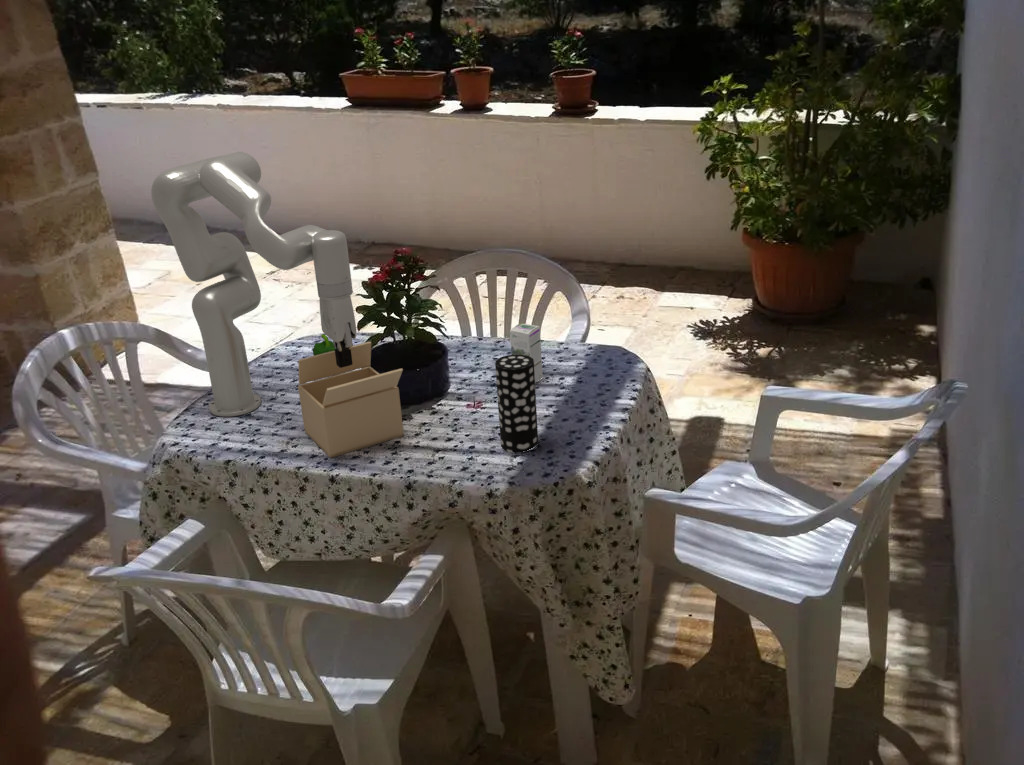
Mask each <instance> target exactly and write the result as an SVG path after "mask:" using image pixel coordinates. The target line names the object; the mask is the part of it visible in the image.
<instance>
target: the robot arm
mask: <svg viewBox="0 0 1024 765" xmlns="http://www.w3.org/2000/svg"><path fill="white" fill-rule="evenodd" d="M261 178H262V170H261V167H260V164H259V162H258V161H257V159H256V158H254V156H252V155H251V154H250V153H247V152H243V151H235V152H231V153H228V154H223V155H219V156H214V157H209V158H205V159H201V160H197V161H195V162H194V161H193V162H190V163H186V164H181V165H179V166H175V167H172V168H170V169H167V170H165V171H163V172H162V173H159V174H158V175H157V176H156V177H155V178H154V180H153V182H152V185H151V191H150V192H151V193H150V194H151V201H152V203H153V204H152V205H153V207H154V209H155V211H156V212H157V214H158V216H159V218H160V219H161V221H162V223H163V224H164V226H165V228H166V230H167V231H168V234H169V236H170V237H169V238H171V239H170V240H171V242H172V245H173V247H174V249H175V252H176V254H177V257H178V260H179V262H180V264H181V267H182V269H183V271H184V274H185V275H186V277H188V279H189V280H191V281H192V282H196V283H201V282H206V281H209V280H212V279H214V278H217V277H219V276H222V275H223V278H224V279H222V280H221V281H217V282H214V283H212V284H210V285H208V286H205V287H204V288H201V289H200V290H199V291H197V293H195V294H194V296H193V298H192V300H191V310H192V313H193V316H194V319H195V321H196V323H197V326H198V328H199V331H200V335H201V339H202V344H203V348H204V355H205V358H206V364H207V369H208V374H209V381H210V384H211V385H210V386H211V391H212V395H213V400H212V401H211V402H209V404H208V409H209V410H208V411H209V412H210V414H212V415H214V416H217V417H222V418H223V417H225V418H227V417H237V416H241V415H245V414H248V413H250V412H253V411H255V410H256V409H258V408H259V407H260V406H261V403H262V399H261V396H260V395H259V394H258V393H254V389H253V383H252V379H251V378H252V377H251V373H250V366H249V361H248V356H247V350H246V344H245V339H244V337H243V336H244V335H243V333H242V332H241V330H240V329H239V328H238V327H237V326H236V325H235V324H234V320H235V319H238V318H239V317H241V316H244V315H246V314H247V313H250V312H252V311H254V310H255V309H257V308H258V307H259V306H260V303H261V300H262V299H261V298H262V294H261V289H260V285H259V283H258V280H257V277H256V275H255V271H254V269H253V267H252V264H251V262H250V258H249V256H248V254H247V252H246V251H247V250H246V249H245V246H244V244H243V242H242V241H241V240H240V239H239V238H238V237H237V236H235V235H234V234H232V233H230V232H225V231H222V232H218V233H214V234H212V235H211V234H210V233H209V230H208V228H207V225H206V221H205V220H204V218H203V217H202V216H201V215H200V213H199V212H198V211H196V210H195V208H193V207H192V206H190V205H189V204H191V203H194V202H197V201H200V200H201V201H202V200H204V199H206V198H210V197H213V198H214V199H215V200H216V201H218V202H219V203H220V204H221V205H223V206H224V207H225V208H226V209H228V210H229V212H231V213H233V214H234V215H235V216H236V217H237V218H239V219H240V220H241V221H242V222H243V223H242V224H243V229H244V230H243V231H244V234H245V236H246V237H245V238H247V242H249V245H250V247H251V248H252V249H253V250H254V252H256V253H257V254H258V255H259V256H260V257H261V258H263V259H264V260H265V261H266V262H267V263H269V264H270V265H272V266H273V267H275V268H277V269H280V270H284V271H285V270H286V271H287V270H292V269H295V268H297V267H299V266H302V265H304V264H306V263H309V262H312V261H313V265H314V275H315V282H316V288H317V295H318V298H319V315H320V326H321V331H322V334H325V335H326V336H327V338H328V339H330V340H332V342H333V344H334V348H335V356H336V363H337V366H339V367H340V368H342V367H346V366H350V365H352V364H353V363H352V355H351V347H352V346H354V342H353V339H356V337H357V334H358V333H357V325H356V324H357V322H356V317H355V312H354V307H353V302H352V296H351V295H353V294H354V291H353V290H354V288H353V283H352V282H353V281H352V273H351V266H350V258H349V251H348V249H349V248H348V243H347V242H348V241H347V240H348V239H347V236H346V234H345V233H344V232H342V231H340V230H335V229H329V230H327V229H325V228H323V227H320V226H317V225H314V224H306V225H303V226H300V227H298V228H295V229H292V230H290V231H287V232H285V233H284V232H283V233H282V234H278V233H277V232H275V231H274V230H273V229H272V228H271V227H270V226H268V225H267V224H266V223H265V221H263V219H264V218H265V217H266V215H267V214H268V212H269V211H270V207H271V205H272V197H271V194H270V193H269V192H268V190H266V189H265V188H264V187H262V186H261V185H260V184H259V182H260V180H261Z"/></svg>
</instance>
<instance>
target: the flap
mask: <svg viewBox="0 0 1024 765" xmlns="http://www.w3.org/2000/svg"><path fill="white" fill-rule="evenodd" d="M351 355H352V363H353V364H352V365H350V366H346V367H342V368H340V367H339V366H337V363H336V356H335V351H331V352H327V353H323V354H319V355H315V356H314V355H313V356H308V357H304V358H300V359H298V361H297V362H298V385H302V384H306V383H309V382H313V381H317V380H321V379H324V378H328V377H332V376H336V375H340V374H343V373H347V372H351V371H355V370H358V369H362V368H366V367H371V364H372V363H371V358H372V341H367V342H363V343H359V344H353V346H352V347H351Z"/></svg>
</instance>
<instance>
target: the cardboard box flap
mask: <svg viewBox="0 0 1024 765" xmlns="http://www.w3.org/2000/svg"><path fill="white" fill-rule="evenodd" d="M403 371H404V369H403V367H402V368H398V369H393V370H390V371H387V372H382V373H379V375H375V376H371V377H368V378H364V379H360V380H357V381H353V382H349V383H345V384H342V385H338V386H334V387H331V388H327V390H326V393H325V397H324V401H323V404H322V405H323V406H327V405H330V404H334V403H337V402H341V401H345V400H348V399H352V398H355V397H359V396H363V395H366V394H370V393H373V392H377V391H381V390H384V389H388V388H391V387H395V386H396V387H398V384H399V381H400V379H401V376H402V373H403Z"/></svg>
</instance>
